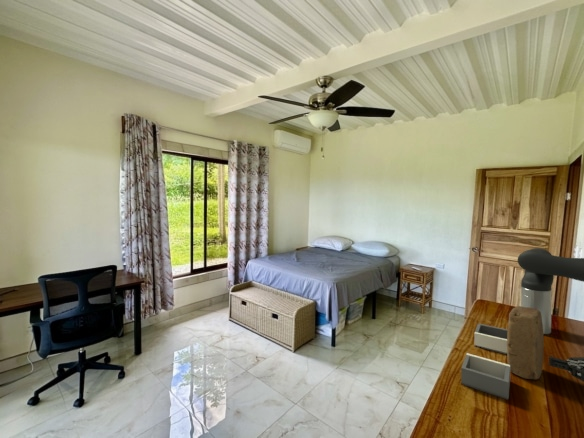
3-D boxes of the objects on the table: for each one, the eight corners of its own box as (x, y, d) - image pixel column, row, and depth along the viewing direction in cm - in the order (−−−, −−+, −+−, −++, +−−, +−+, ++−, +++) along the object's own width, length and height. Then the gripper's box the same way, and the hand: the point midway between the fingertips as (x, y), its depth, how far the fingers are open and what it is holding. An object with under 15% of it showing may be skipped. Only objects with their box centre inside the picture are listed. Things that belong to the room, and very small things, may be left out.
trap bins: (478, 335, 110) (478, 323, 109) (513, 343, 103) (513, 330, 102) (461, 384, 82) (461, 367, 81) (508, 400, 74) (508, 382, 74)
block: (535, 384, 80) (536, 317, 79) (504, 372, 86) (504, 310, 85) (546, 370, 86) (547, 308, 85) (516, 360, 92) (517, 301, 91)
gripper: (648, 413, 66) (550, 384, 77) (633, 384, 76) (547, 362, 87) (650, 383, 66) (550, 359, 77) (633, 358, 76) (548, 339, 87)
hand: (549, 360), depth 82 cm, fingers closed
